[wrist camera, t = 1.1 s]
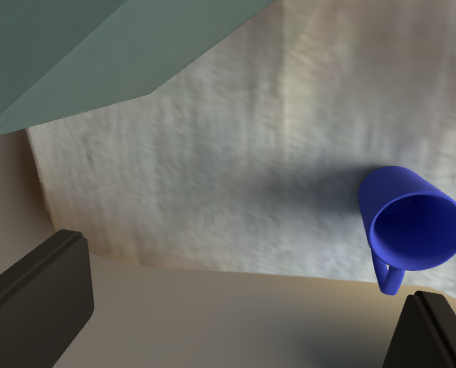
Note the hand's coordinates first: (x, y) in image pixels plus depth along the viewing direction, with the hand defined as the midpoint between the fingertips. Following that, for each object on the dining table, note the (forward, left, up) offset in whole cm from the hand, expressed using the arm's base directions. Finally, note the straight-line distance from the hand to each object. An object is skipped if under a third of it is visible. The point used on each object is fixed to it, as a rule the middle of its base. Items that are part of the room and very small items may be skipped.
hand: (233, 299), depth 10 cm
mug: (-5, +16, -31) cm, 35 cm away
